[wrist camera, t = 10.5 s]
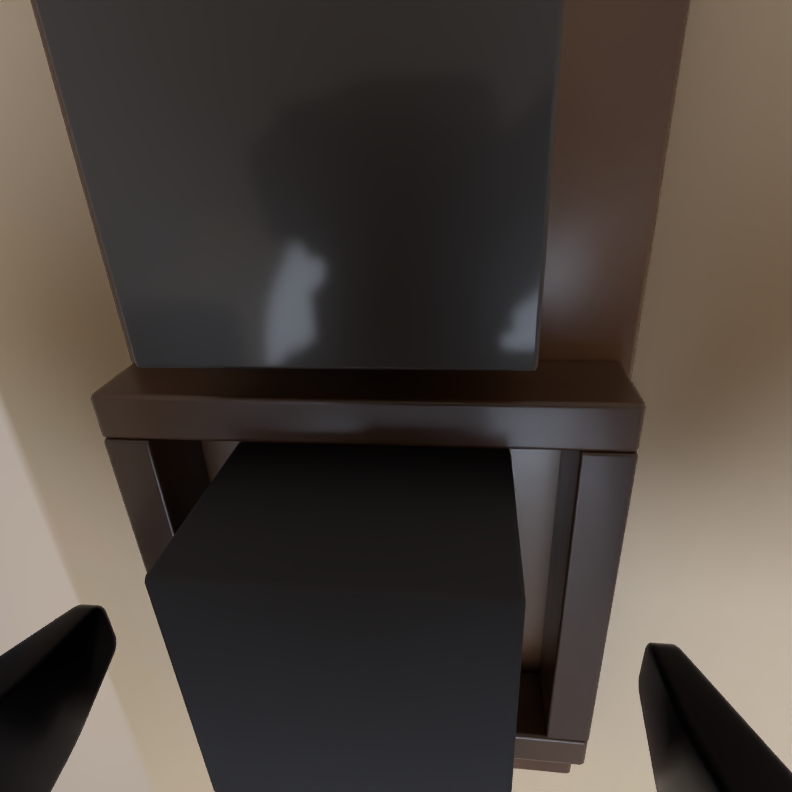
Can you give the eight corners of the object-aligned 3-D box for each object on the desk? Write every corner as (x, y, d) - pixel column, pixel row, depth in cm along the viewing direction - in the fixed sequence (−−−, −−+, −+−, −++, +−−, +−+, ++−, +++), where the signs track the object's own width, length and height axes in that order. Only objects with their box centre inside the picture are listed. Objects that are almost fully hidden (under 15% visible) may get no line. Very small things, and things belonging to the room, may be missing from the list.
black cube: (276, 629, 13) (213, 795, 10) (237, 440, 11) (140, 578, 7) (500, 645, 12) (509, 828, 9) (510, 447, 10) (527, 601, 7)
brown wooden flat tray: (252, 700, 16) (195, 851, 13) (47, -128, 8) (-250, -290, 5) (563, 728, 15) (587, 901, 12) (694, -204, 7) (893, -486, 4)
